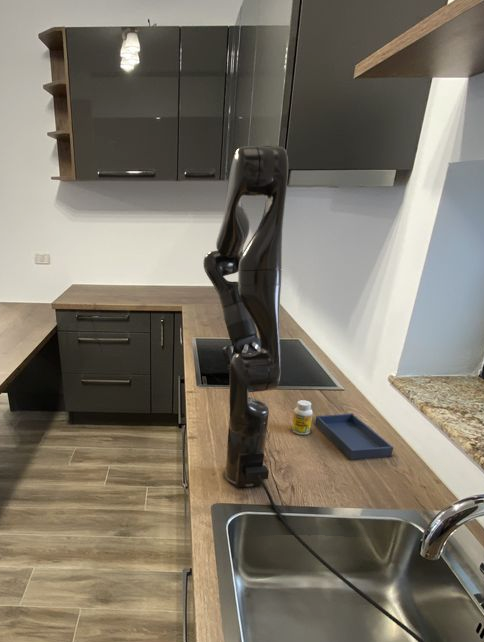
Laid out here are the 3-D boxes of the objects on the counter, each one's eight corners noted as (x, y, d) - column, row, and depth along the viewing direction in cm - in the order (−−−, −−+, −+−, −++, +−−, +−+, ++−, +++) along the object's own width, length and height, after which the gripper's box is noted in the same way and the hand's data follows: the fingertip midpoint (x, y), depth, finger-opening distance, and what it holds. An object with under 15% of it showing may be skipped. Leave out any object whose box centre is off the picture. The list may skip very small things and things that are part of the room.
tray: (391, 456, 123) (393, 447, 121) (350, 459, 121) (352, 450, 120) (350, 421, 142) (352, 413, 141) (314, 424, 140) (316, 416, 139)
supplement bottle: (309, 428, 138) (313, 400, 134) (310, 436, 133) (314, 407, 129) (291, 426, 139) (295, 398, 135) (291, 434, 134) (295, 405, 130)
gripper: (223, 323, 115) (240, 383, 116) (268, 312, 120) (284, 369, 121) (210, 329, 122) (226, 386, 123) (253, 318, 127) (268, 372, 128)
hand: (255, 377), depth 122 cm, fingers open, 8 cm apart
